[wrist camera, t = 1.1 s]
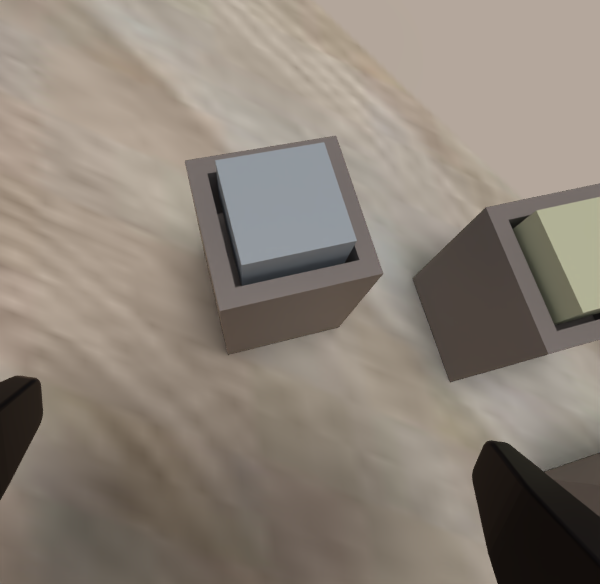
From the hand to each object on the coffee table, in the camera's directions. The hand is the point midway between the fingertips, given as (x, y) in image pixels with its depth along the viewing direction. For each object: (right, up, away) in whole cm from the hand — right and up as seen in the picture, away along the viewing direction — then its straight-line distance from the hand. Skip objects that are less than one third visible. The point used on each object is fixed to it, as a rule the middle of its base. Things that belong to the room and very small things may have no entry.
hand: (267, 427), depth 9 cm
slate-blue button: (0, +5, +9) cm, 10 cm away
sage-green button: (+12, +4, +10) cm, 16 cm away
